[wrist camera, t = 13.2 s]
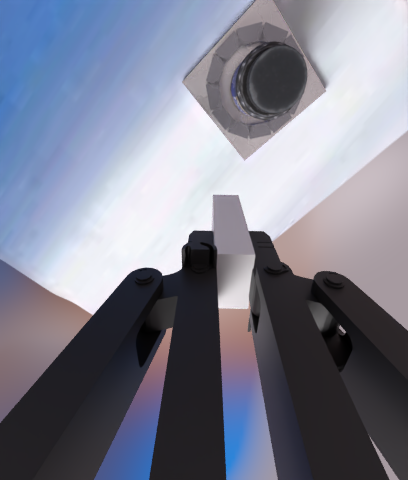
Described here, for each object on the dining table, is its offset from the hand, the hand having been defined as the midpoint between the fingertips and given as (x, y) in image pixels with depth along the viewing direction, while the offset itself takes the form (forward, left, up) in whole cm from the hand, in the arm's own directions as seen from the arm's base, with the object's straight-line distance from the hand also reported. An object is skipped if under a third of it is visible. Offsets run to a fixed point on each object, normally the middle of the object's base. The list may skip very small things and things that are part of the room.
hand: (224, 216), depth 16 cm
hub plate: (-3, +8, -21) cm, 23 cm away
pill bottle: (-3, +8, -21) cm, 22 cm away
